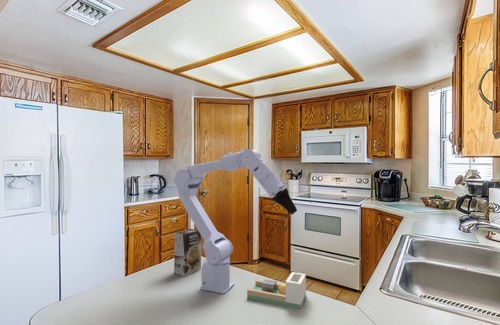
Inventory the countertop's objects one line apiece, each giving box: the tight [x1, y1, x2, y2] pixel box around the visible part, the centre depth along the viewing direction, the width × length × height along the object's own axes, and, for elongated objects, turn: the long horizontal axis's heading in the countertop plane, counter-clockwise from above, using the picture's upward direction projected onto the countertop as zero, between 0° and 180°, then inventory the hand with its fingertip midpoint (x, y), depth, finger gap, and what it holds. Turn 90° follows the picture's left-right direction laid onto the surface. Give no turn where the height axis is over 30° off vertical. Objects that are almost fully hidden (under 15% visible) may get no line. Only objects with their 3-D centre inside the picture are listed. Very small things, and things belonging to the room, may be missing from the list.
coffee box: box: [173, 228, 202, 277], centre depth 106 cm, size 9×6×16 cm
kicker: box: [262, 278, 278, 293], centre depth 84 cm, size 4×3×3 cm
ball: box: [278, 282, 286, 295], centre depth 82 cm, size 4×4×4 cm
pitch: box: [246, 271, 307, 310], centre depth 83 cm, size 17×8×7 cm, turn 67°
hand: (294, 212), depth 81 cm, fingers open, 7 cm apart
